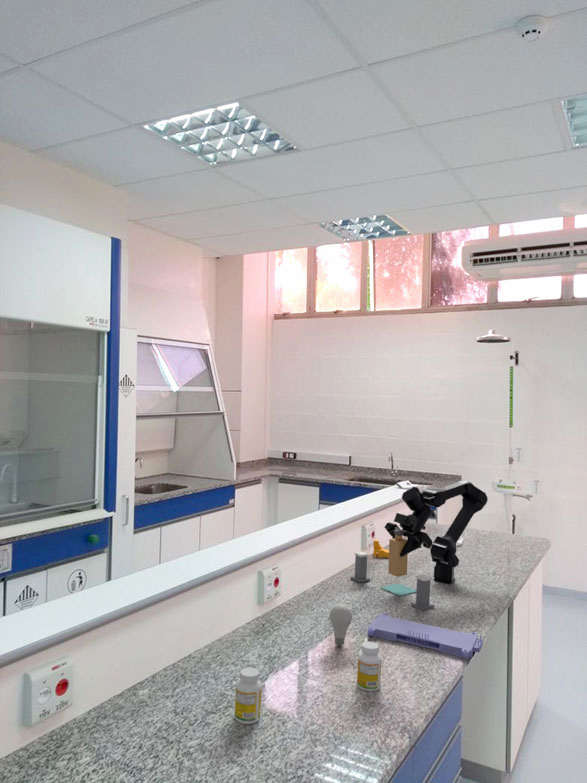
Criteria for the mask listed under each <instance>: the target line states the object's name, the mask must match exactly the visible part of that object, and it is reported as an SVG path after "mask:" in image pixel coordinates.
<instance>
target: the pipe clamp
mask: <svg viewBox="0 0 587 783" xmlns="http://www.w3.org/2000/svg"><path fill="white" fill-rule="evenodd" d="M373 549H374V550H373V551H372V552H373V553H372V554H374V556H378V557H377V558H383V557H387V559H389V549H386V548H383V546H381V544H380V540H379V539H376V538H375V540H374V539H373ZM374 556H373V557H374Z"/></svg>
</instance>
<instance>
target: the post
mask: <svg viewBox="0 0 587 783" xmlns="http://www.w3.org/2000/svg"><path fill="white" fill-rule="evenodd" d="M415 579H416V590H417V592H416V593H415V594H416V597H415V601H411V603H410V604H411V606H412V607H414V608H417V609H418V610H422V611H427V610H431V609H434V605H435V604H433V603H431V602H430V599H431V598H430V596H431V580H432V579H433V576H429V575H428V574H427V575H426V574H424V573H423V574H418V575H415Z"/></svg>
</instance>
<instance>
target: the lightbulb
mask: <svg viewBox="0 0 587 783" xmlns="http://www.w3.org/2000/svg"><path fill="white" fill-rule="evenodd" d="M328 616H329V621H330V624H331V625H332V628H333V636H334V644H335V645H337V646H338V647H342V646H344V644H345V639H346V636H347V631H348V628H349V627H350V625H351V623H352V620H353V612H352V611H351V609H350V608H349V607H348V606H347V605H344V604H337V605H335V606H333V607H331V610H330V612H329V615H328Z"/></svg>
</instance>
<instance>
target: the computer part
mask: <svg viewBox="0 0 587 783" xmlns="http://www.w3.org/2000/svg"><path fill="white" fill-rule="evenodd" d="M367 635H368V636H370V637H375V638H379V639H383V640H387V641H392V642H397V641H398V642H402V643H405V644H409V645H412V646H418V647H422V648H426V649H432V650H437V651H438V652H439V653H443V654H449V655H452V656H456V657H461V658H465V659H468V660H471V659H472V657H473V652H474V653H480V652H481V650H482V647H483V644H484V642H483V641H484V639H482V634H480V635H479V638H478V633H477V632H475V631H471V632H469V633H466V632H462V631H457V630H451V629H447V628H442V627H438V626H434V625H429V624H424V623H421V622H420V623H419V622H415V621H410V620H405V619H400V618H396V617H392V616H389V614H388V613H385V612H383V613H381V614H379V615H378V616H377V617H376V618H375V619H374V621H372V623H371V622H370V624H369V625H368V627H367Z"/></svg>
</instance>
